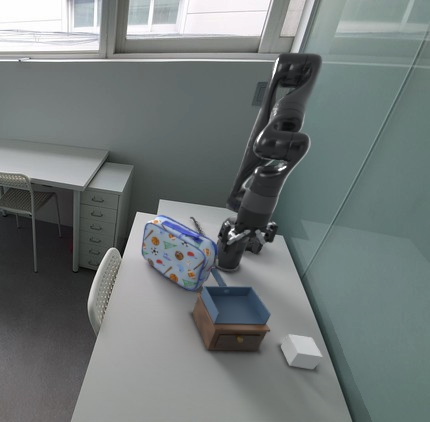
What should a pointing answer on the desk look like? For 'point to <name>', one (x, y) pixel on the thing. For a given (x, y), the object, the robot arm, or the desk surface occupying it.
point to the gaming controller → (250, 244)
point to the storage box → (227, 331)
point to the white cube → (301, 351)
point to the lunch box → (179, 252)
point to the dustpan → (233, 303)
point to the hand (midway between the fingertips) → (239, 252)
